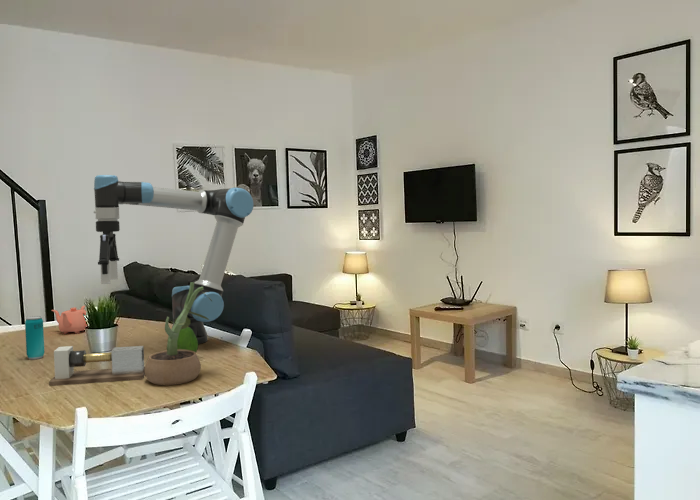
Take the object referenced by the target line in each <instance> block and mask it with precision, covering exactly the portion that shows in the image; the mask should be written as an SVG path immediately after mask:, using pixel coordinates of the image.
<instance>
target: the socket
mask: <svg viewBox="0 0 700 500" xmlns="http://www.w3.org/2000/svg"><path fill="white" fill-rule="evenodd" d="M70 351H74V346H73V345H71V346H69V345H67V346H58V347H57V348H56V349H55V350H53V357H54V358H53V361H54V363H53V364H54V377H55V379H67V378H70V377H71V376H72V375H73V374H74V371H75V370H74V369H75V367H70V366H69V354H70Z"/></svg>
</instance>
